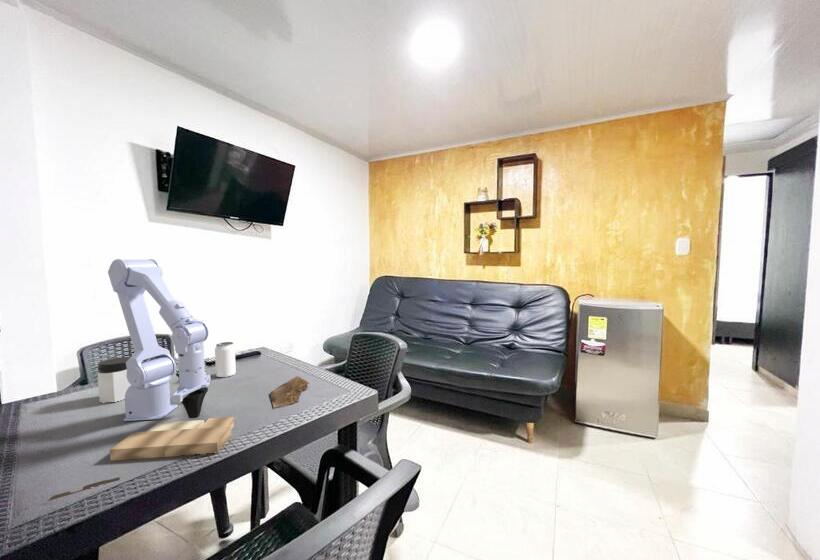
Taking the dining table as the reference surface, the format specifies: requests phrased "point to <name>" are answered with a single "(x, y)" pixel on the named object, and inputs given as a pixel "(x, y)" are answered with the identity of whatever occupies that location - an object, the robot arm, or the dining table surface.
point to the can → (225, 359)
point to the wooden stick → (85, 488)
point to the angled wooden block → (175, 441)
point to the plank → (177, 425)
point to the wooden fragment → (288, 392)
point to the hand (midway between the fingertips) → (194, 416)
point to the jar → (113, 379)
